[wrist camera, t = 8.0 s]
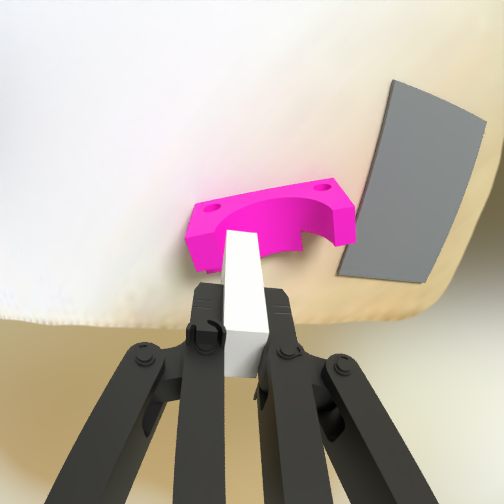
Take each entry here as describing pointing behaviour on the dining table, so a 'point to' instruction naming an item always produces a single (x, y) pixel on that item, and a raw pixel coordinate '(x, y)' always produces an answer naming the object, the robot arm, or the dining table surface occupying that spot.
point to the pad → (413, 186)
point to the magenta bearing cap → (271, 220)
